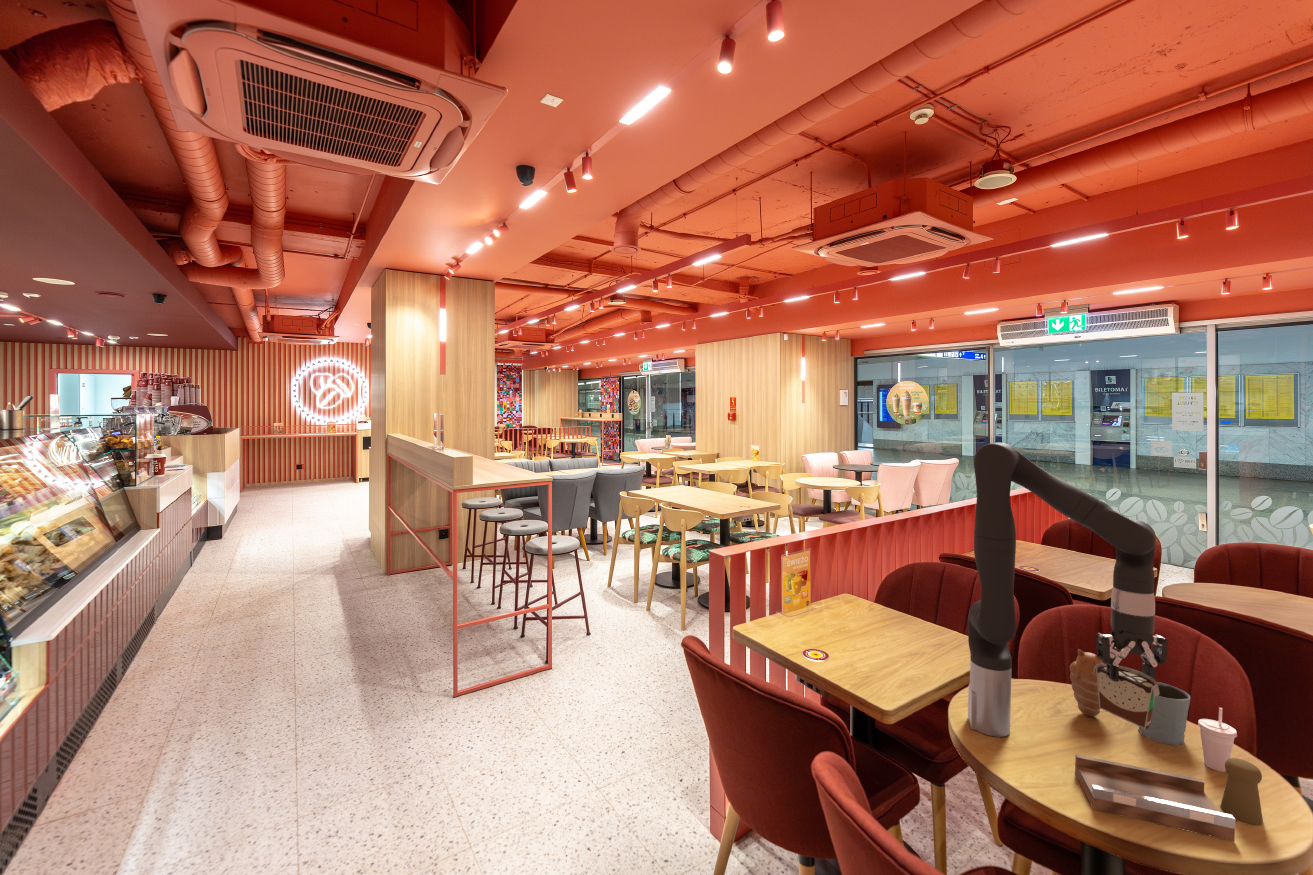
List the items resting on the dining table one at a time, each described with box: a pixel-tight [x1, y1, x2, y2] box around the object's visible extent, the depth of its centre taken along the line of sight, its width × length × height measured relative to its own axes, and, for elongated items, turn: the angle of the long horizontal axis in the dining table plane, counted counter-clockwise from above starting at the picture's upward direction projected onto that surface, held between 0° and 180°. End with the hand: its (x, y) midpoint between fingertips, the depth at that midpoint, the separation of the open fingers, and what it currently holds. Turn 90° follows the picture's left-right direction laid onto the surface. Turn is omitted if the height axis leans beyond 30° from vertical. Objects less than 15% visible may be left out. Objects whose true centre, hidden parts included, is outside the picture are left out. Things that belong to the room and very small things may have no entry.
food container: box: [1093, 663, 1160, 729], centre depth 124 cm, size 12×6×10 cm, turn 18°
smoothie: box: [1197, 707, 1238, 773], centre depth 127 cm, size 6×6×14 cm
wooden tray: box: [1074, 754, 1236, 842], centre depth 115 cm, size 22×13×4 cm, turn 67°
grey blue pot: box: [1137, 681, 1191, 746], centre depth 139 cm, size 10×10×12 cm
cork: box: [1219, 757, 1264, 827], centre depth 112 cm, size 6×6×11 cm
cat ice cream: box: [1069, 648, 1104, 717], centre depth 149 cm, size 9×8×18 cm
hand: (1130, 680), depth 124 cm, fingers closed on food container, 7 cm apart
